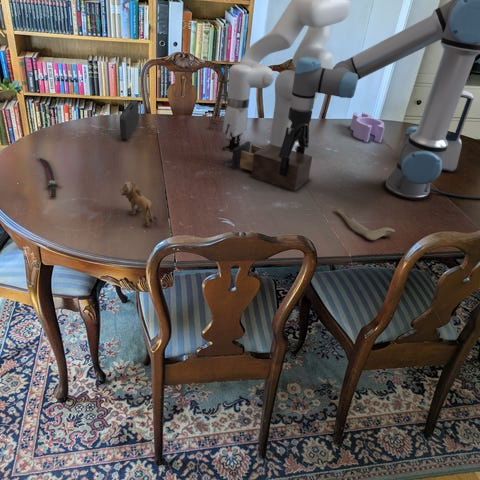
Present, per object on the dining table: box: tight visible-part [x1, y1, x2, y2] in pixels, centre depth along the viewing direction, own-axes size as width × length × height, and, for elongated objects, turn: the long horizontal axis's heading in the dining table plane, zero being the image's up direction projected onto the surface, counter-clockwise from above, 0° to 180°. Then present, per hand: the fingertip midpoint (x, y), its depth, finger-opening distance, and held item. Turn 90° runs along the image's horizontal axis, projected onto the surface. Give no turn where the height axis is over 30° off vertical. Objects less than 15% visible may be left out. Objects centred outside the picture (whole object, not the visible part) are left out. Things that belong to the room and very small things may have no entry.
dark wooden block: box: [250, 143, 313, 192], centre depth 165 cm, size 17×12×9 cm
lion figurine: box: [119, 181, 159, 227], centre depth 134 cm, size 15×5×9 cm, turn 50°
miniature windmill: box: [208, 56, 231, 129], centre depth 198 cm, size 9×8×30 cm
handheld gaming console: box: [119, 99, 140, 141], centre depth 189 cm, size 23×3×10 cm, turn 178°
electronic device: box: [441, 90, 474, 173], centre depth 182 cm, size 12×8×30 cm, turn 71°
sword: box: [40, 158, 59, 198], centre depth 151 cm, size 31×3×1 cm, turn 26°
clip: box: [349, 112, 386, 143], centre depth 214 cm, size 20×12×7 cm, turn 11°
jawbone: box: [334, 207, 396, 241], centre depth 142 cm, size 9×20×2 cm, turn 50°
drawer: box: [221, 140, 264, 172], centre depth 169 cm, size 22×11×7 cm, turn 59°
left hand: (233, 151), depth 172 cm, fingers closed
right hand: (290, 169), depth 163 cm, fingers closed on dark wooden block, 12 cm apart
